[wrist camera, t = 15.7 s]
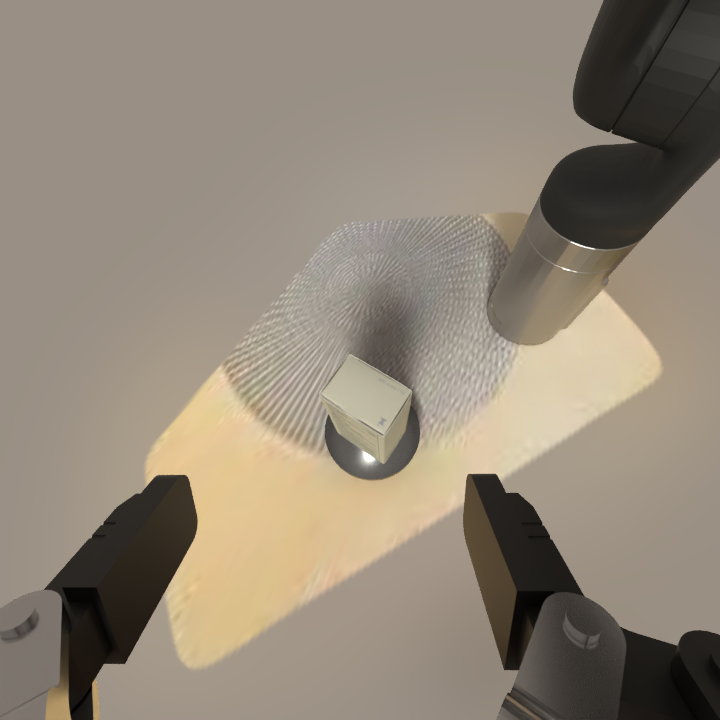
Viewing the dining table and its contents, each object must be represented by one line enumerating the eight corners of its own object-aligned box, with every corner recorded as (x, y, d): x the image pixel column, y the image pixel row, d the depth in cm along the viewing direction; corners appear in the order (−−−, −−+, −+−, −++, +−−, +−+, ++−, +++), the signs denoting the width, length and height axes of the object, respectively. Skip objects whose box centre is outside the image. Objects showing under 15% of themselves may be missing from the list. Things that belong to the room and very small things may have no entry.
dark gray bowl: (405, 387, 45) (407, 378, 42) (426, 473, 40) (430, 469, 38) (322, 402, 44) (319, 394, 42) (335, 490, 40) (332, 487, 37)
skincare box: (406, 431, 39) (418, 391, 28) (383, 467, 38) (386, 439, 27) (356, 399, 41) (350, 350, 30) (333, 432, 40) (316, 393, 29)
